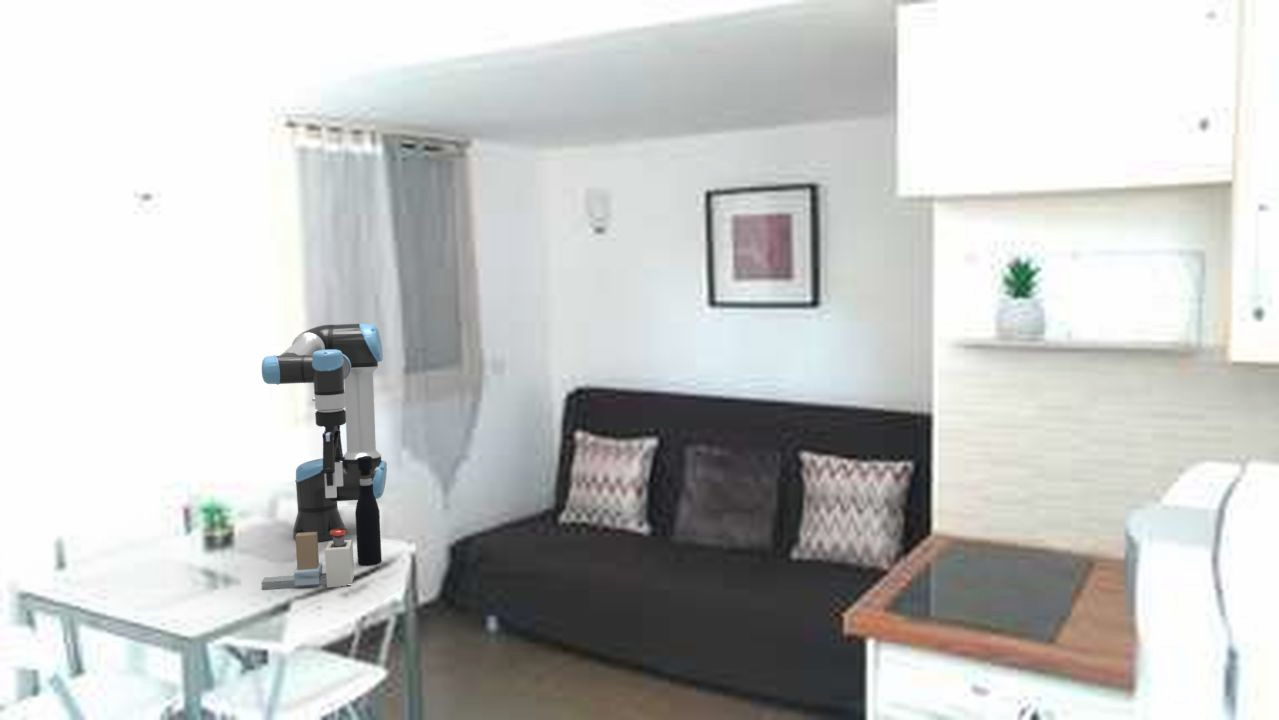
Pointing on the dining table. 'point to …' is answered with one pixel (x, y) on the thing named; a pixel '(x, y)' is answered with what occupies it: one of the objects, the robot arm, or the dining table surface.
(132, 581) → the dining table surface
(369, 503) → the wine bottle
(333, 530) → the red mushroom push button
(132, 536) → the dining table surface
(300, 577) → the carriage
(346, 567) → the white button housing
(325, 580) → the rail
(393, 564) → the dining table surface
